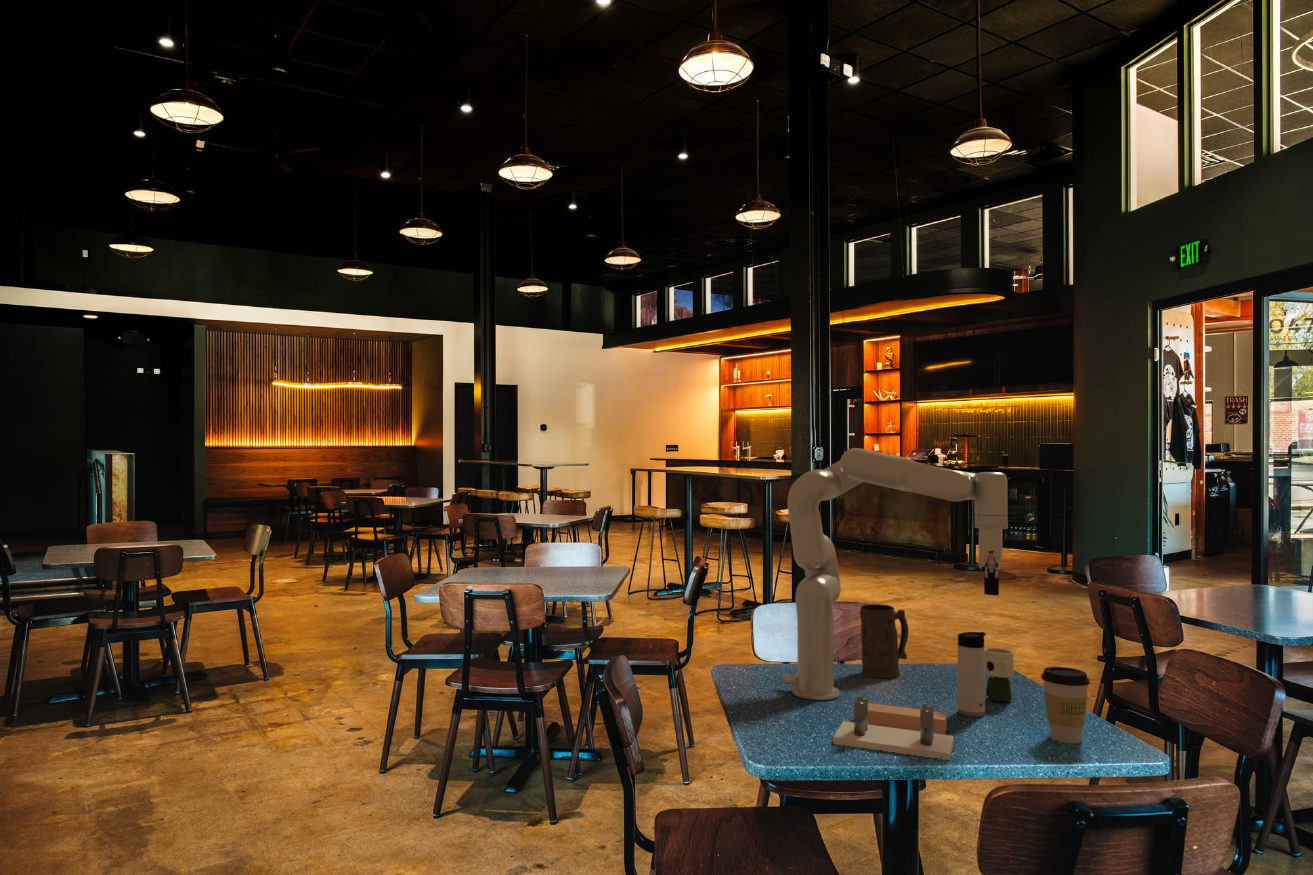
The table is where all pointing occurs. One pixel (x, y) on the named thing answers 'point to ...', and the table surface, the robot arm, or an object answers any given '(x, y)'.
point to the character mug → (998, 673)
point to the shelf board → (903, 718)
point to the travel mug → (971, 674)
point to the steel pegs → (925, 720)
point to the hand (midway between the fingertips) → (991, 592)
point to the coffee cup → (1065, 702)
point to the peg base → (894, 741)
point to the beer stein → (882, 640)
